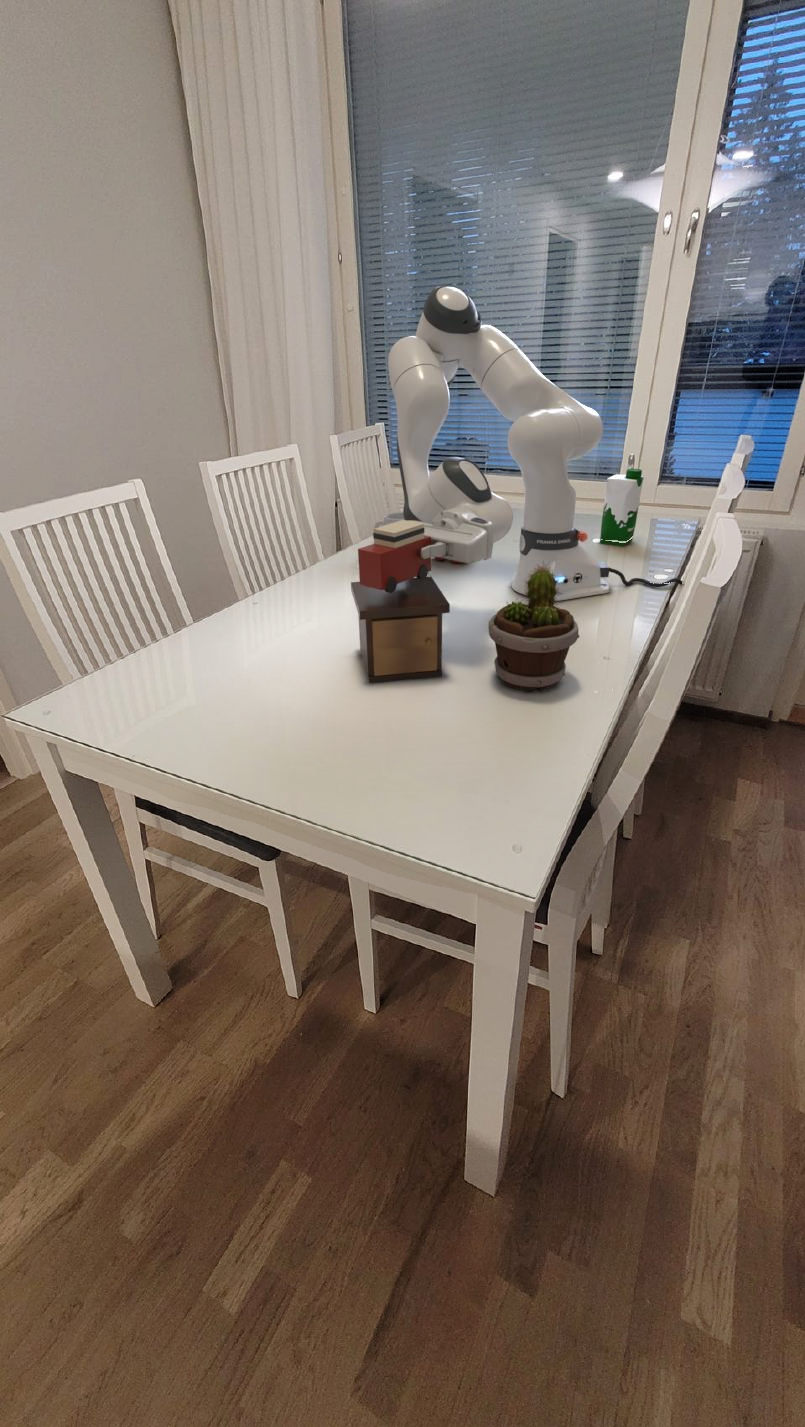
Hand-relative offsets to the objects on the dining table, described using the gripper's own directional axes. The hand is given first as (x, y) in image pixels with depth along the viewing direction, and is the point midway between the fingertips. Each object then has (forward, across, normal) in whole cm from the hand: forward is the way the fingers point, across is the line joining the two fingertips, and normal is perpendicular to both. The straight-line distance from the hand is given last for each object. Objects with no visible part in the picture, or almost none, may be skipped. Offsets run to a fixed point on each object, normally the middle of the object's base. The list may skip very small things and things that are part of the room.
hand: (405, 550), depth 110 cm
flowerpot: (-6, +22, +20) cm, 31 cm away
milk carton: (-98, -3, +21) cm, 101 cm away
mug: (-50, -46, +21) cm, 71 cm away
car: (+3, 0, +5) cm, 6 cm away
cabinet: (+3, 0, +20) cm, 20 cm away
